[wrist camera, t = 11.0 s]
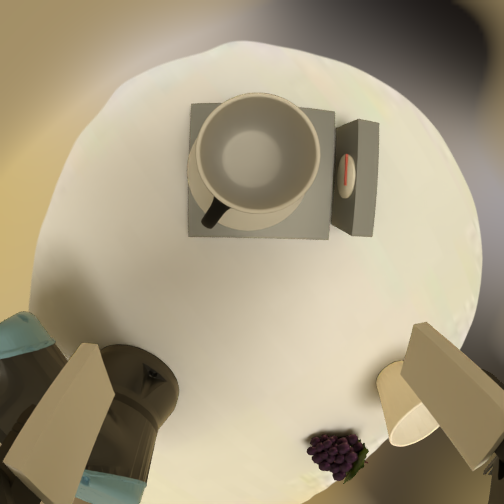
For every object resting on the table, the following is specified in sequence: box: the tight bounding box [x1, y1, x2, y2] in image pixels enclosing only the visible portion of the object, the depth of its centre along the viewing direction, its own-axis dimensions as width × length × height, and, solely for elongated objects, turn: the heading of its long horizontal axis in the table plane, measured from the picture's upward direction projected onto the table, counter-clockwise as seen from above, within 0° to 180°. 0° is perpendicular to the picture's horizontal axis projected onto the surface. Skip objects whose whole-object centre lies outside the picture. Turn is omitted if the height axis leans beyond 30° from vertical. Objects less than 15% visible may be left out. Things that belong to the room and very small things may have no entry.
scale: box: [187, 103, 379, 240], centre depth 29 cm, size 19×15×7 cm
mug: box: [195, 93, 320, 229], centre depth 24 cm, size 12×9×10 cm
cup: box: [376, 361, 440, 446], centre depth 36 cm, size 12×12×12 cm
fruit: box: [307, 434, 369, 484], centre depth 42 cm, size 10×11×15 cm
